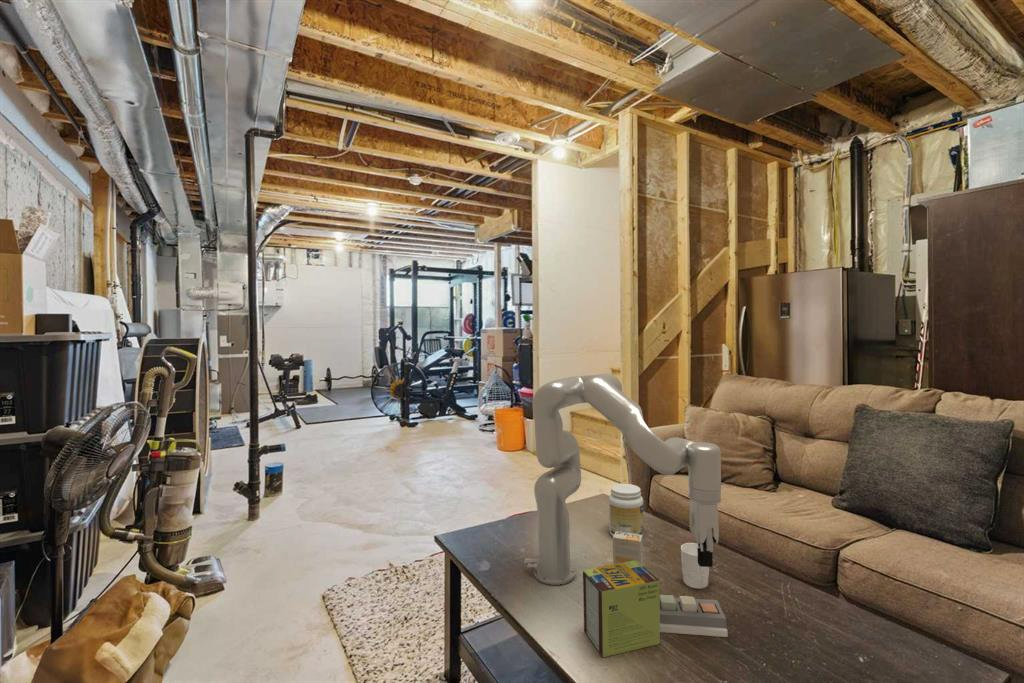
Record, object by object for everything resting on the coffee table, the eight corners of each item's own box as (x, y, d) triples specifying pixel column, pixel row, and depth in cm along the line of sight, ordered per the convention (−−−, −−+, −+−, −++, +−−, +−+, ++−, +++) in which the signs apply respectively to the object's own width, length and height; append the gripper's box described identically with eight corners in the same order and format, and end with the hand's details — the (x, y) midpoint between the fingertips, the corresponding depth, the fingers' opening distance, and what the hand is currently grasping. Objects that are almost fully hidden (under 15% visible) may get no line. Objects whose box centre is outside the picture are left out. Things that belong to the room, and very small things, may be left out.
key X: (682, 612, 118) (682, 603, 118) (679, 604, 121) (679, 595, 121) (696, 613, 118) (696, 604, 117) (693, 605, 121) (693, 596, 121)
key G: (703, 620, 117) (703, 611, 117) (700, 612, 121) (700, 603, 121) (718, 621, 117) (717, 612, 117) (714, 613, 120) (714, 603, 120)
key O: (661, 611, 119) (661, 602, 119) (659, 603, 122) (659, 594, 122) (676, 612, 118) (675, 603, 118) (673, 604, 122) (673, 595, 122)
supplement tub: (648, 542, 163) (647, 493, 163) (613, 542, 164) (612, 494, 163) (639, 527, 176) (638, 482, 175) (606, 527, 176) (605, 482, 175)
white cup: (712, 591, 133) (712, 556, 132) (683, 588, 134) (683, 554, 134) (707, 576, 141) (706, 543, 140) (679, 574, 142) (678, 541, 142)
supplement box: (644, 577, 141) (643, 534, 140) (641, 585, 136) (640, 541, 136) (616, 572, 144) (615, 530, 144) (613, 580, 140) (612, 536, 139)
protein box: (661, 644, 112) (660, 579, 111) (602, 658, 107) (601, 591, 107) (637, 618, 122) (636, 559, 121) (582, 630, 117) (581, 569, 117)
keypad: (658, 632, 116) (658, 616, 116) (652, 607, 126) (652, 593, 126) (727, 637, 113) (727, 621, 113) (716, 612, 123) (715, 597, 123)
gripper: (682, 482, 126) (683, 550, 126) (696, 503, 111) (696, 580, 112) (712, 483, 125) (712, 551, 125) (729, 505, 110) (730, 582, 111)
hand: (704, 565), depth 119 cm, fingers closed
